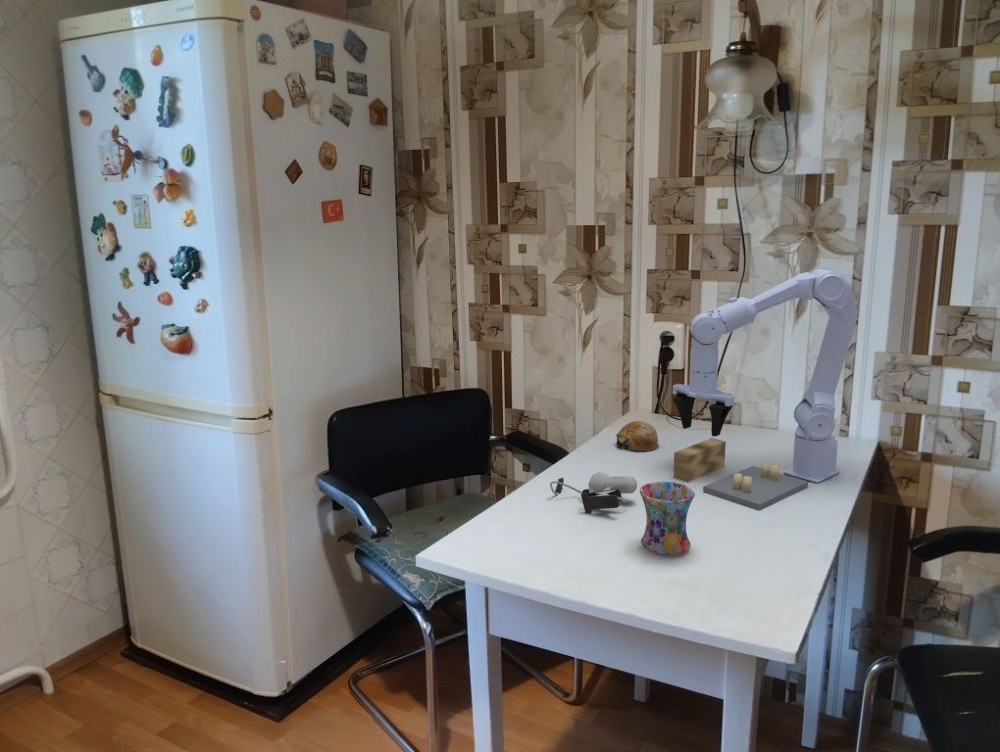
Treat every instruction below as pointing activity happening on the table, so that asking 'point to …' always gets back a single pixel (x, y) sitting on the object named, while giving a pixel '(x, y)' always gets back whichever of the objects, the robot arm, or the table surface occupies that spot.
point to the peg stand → (756, 486)
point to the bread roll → (638, 437)
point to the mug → (666, 517)
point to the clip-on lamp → (602, 491)
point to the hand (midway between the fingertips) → (701, 431)
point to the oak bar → (699, 459)
